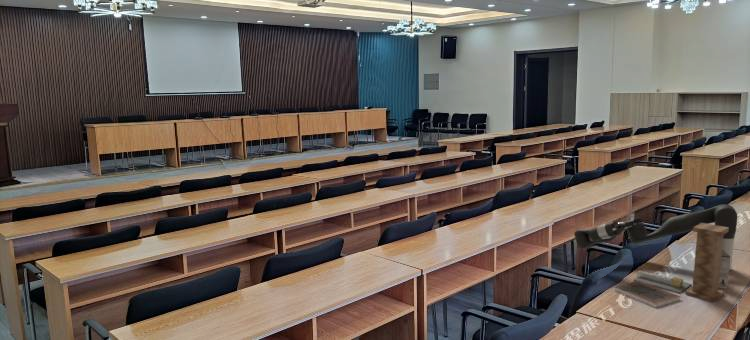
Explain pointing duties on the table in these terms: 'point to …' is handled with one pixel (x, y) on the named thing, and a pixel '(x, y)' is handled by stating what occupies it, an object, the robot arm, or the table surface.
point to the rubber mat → (664, 285)
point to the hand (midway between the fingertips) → (637, 221)
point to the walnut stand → (707, 262)
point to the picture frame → (647, 293)
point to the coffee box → (724, 270)
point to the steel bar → (661, 279)
